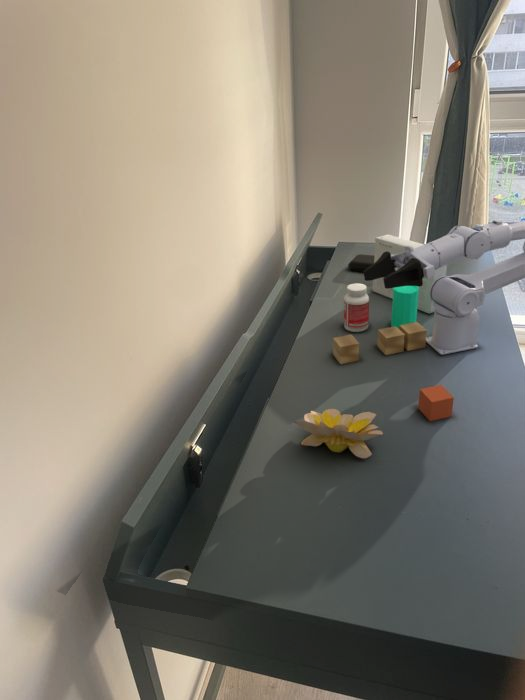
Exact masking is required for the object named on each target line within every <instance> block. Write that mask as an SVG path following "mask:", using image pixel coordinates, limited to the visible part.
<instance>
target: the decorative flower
mask: <svg viewBox="0 0 525 700" xmlns="http://www.w3.org/2000/svg"><path fill="white" fill-rule="evenodd" d="M376 416H377V414H376V413H374V412H371V411H364V412H361V413H358V414H356V415H355V416H354V415H353V414H341V412H340V411H339V410H338V409H337V408H328V409H325V410H324V411H323V412H322V413H321V412H318V411H314V410H310V412H308V413H305V414H304V418H303V419H304V420H296V421H293V423H294V424H296V425H297V426H299V427H300V428H302V429H303V430H305V432H308V433H310V434H309V435H308V436H306V437H305V438H304V439H303V440H302V441H301V442H300V444H301V445H303V446H311V447H318V446H320V445H322V444H323V443H324V444H325V445H326V446H327V448H328V449H329V450H330V451H331V452H333V453H342V452H343V451H345V450H347V449H349V451H350V452H351V453H352V454H353V455H354V456H356V457H357V458H360V459H367V458H369V457H371V456H372V455H373V453H372V451H371V450H370V448H369V447H368V446H367V444H366V443H365V442H364V441H368V440H371V439H374V438H377V437H379V436H380V437H381V436H382V435H384V433H383V431H382V430H378V428H379V426H377V425H376V424H371V423H372V422H373V420H374V419H375V418H376Z"/></svg>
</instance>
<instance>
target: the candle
mask: <svg viewBox="0 0 525 700" xmlns="http://www.w3.org/2000/svg"><path fill="white" fill-rule="evenodd" d="M418 294H419V287H418V286H401V287H395V288H393V299H392V303H391V320H390V321H391V322H390V327H394V326H396V327H397V328H398V329H399V328H400V325H404V324H409V323H415V322H417V319H418V318H417V317H418V309H417V307H418Z"/></svg>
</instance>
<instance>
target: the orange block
mask: <svg viewBox="0 0 525 700" xmlns="http://www.w3.org/2000/svg"><path fill="white" fill-rule="evenodd" d="M454 398H455V397H454V396H453V394H452V393H450V392H449V391H448V390H447V389H446V388H445V387H444V386H443V385H442V384H438V385H433V386H429V387H423V388H419V395H418V404H417V405H418V406H417V409H418V410H419V411H420V412H421V414H423V415H424V417H425V418H426V419H427V420H428V421H429V422H434V421H437V420H442V419H447V418H451V417H452V415H453V414H452V413H453V406H454V400H455V399H454Z"/></svg>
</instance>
